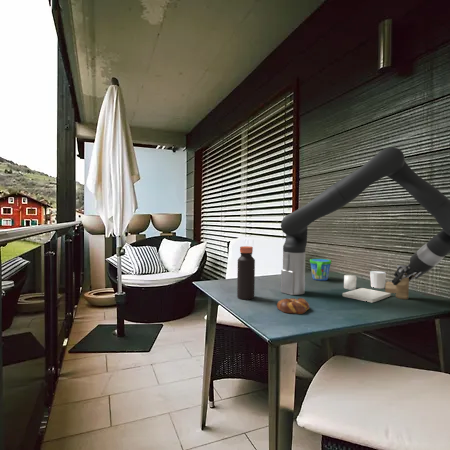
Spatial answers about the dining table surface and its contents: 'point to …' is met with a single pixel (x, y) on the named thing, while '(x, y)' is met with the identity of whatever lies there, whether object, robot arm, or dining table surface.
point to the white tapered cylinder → (377, 279)
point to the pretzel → (293, 305)
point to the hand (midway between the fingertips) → (398, 282)
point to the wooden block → (390, 287)
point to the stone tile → (366, 295)
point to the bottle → (246, 274)
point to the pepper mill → (402, 287)
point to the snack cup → (320, 269)
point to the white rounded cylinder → (350, 282)
